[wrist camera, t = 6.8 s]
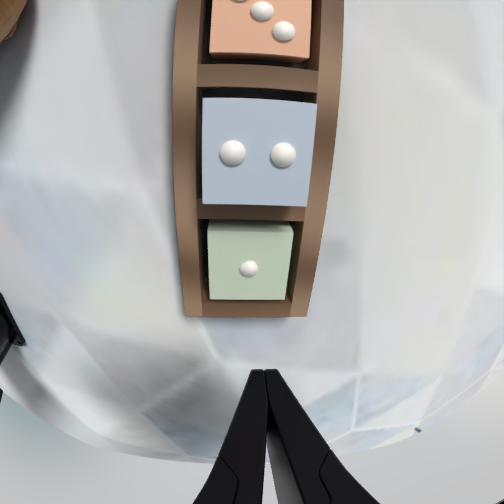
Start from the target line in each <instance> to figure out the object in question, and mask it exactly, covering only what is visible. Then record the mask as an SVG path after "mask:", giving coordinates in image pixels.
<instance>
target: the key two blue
mask: <svg viewBox="0 0 504 504" xmlns="http://www.w3.org/2000/svg"><path fill="white" fill-rule="evenodd" d="M316 114H317V104H313V103H305V102H295V101H284V100H271V99H252V98H203V113H202V199H203V204H245V205H280V206H304V207H307V200H308V192H309V184H310V175H311V166H312V156H313V146H314V136H315V125H316Z"/></svg>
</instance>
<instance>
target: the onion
mask: <svg viewBox="0 0 504 504" xmlns="http://www.w3.org/2000/svg"><path fill="white" fill-rule="evenodd" d="M26 2H27V0H0V43H1V42H2V41H3V39H4V38H5V40H7V38H10V37H11V36H12V35H13V33H14V32H15V29H16V28H17V20H18V18H19V17H20V15H21V13H22V11H23V9H24V7H25V5H26Z"/></svg>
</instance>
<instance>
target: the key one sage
mask: <svg viewBox="0 0 504 504" xmlns="http://www.w3.org/2000/svg"><path fill="white" fill-rule="evenodd" d="M207 233H208V265H209V289H210V299H226V300H285V294H286V287H287V279H288V272H289V265H290V257H291V249H292V241H293V230H292V228H291V225H290V223H289V221H281V220H239V219H210V221H209V226H208V231H207Z"/></svg>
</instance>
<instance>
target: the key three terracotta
mask: <svg viewBox="0 0 504 504" xmlns="http://www.w3.org/2000/svg"><path fill="white" fill-rule="evenodd" d="M311 2H312V0H213V3H212V17H211V32H210V50H209V52H210V54H211V56H212V57H213V59H248V60H266V61H279V62H289V63H300V62H302V61H304V60H306V59H308V58H309V52H310V31H311Z"/></svg>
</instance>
